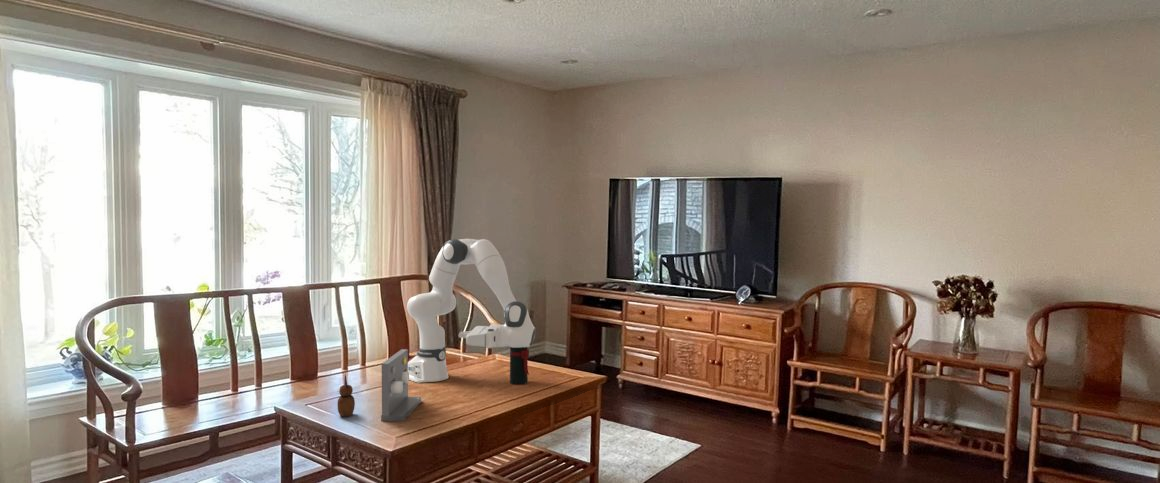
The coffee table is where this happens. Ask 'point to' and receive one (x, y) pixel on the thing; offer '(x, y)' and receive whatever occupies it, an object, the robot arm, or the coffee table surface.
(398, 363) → the control panel
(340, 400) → the wooden figurine
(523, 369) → the wine bottle
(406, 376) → the beige rounded lump
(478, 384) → the coffee table surface
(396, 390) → the unlit button
